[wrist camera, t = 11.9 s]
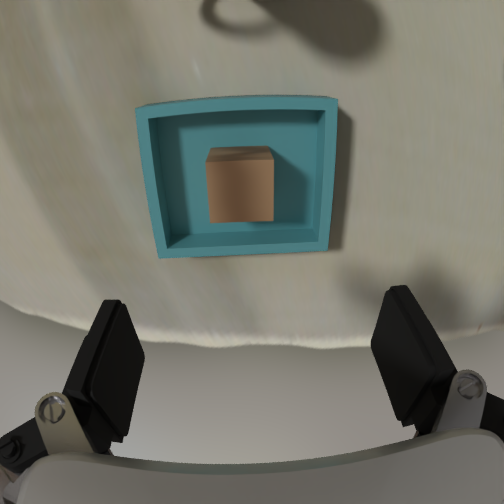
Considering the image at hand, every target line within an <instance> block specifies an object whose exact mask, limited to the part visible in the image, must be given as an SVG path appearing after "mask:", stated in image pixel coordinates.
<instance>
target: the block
mask: <svg viewBox="0 0 504 504" xmlns="http://www.w3.org/2000/svg"><path fill="white" fill-rule="evenodd" d="M205 165H206V179H207V191H208V204H209V215H210V223H229V222H255V221H273V214H274V159H273V157H272V154H271V152H270V150H269V147H268V146H235V147H215V148H210V151H209V154H208V156H207V159H206V162H205Z"/></svg>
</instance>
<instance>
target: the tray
mask: <svg viewBox="0 0 504 504" xmlns="http://www.w3.org/2000/svg"><path fill="white" fill-rule="evenodd" d="M337 111H338V99H335V98H331V97H327V96H310V95H244V96H224V97H209V98H197V99H187V100H178V101H169V102H161V103H154V104H147V105H144V106H141V107H138V108H135V113H136V122H137V131H138V139H139V147H140V155H141V162H142V169H143V175H144V182H145V188H146V194H147V200H148V206H149V212H150V217H151V222H152V228H153V233H154V238H155V243H156V248H157V253H158V257H159V258H181V257H203V256H224V255H246V254H267V253H288V252H309V251H328V242H329V233H330V222H331V212H332V200H333V187H334V173H335V157H336V138H337ZM235 146H268V147H269V150H270V152H271V154H272V157H273V159H274V214H273V221H255V222H229V223H210V215H209V204H208V191H207V179H206V165H205V162H206V159H207V156H208V154H209V151H210V148H215V147H235Z"/></svg>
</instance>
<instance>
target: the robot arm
mask: <svg viewBox="0 0 504 504" xmlns="http://www.w3.org/2000/svg"><path fill="white" fill-rule="evenodd" d="M371 349H372V352H373V355H374V357H375V360H376V362H377V365H378V368H379V371H380V373H381V376H382V379H383V382H384V384H385V387H386V390H387V393H388V396H389V398H390V401H391V404H392V407H393V410H394V413H395V416H396V418H397V420H399V421H401V423H402V425H403V427H405V426H409V425H413V424H414V425H415V428H416V430H417V431H416V433H415V435H414V437H413V439H409V440H405V441H401V442H398V443H393V444H389V445H384V446H380V447H376V448H371V449H367V450H362V451H357V452H352V453H346V454H341V455H334V456H328V457H321V458H314V459H306V460H296V461H287V462H273V463H256V464H192V463H174V462H163V461H152V460H142V459H134V458H126V457H118V456H114V455H113V454H112V452H111V450H110V446H111V442H119V443H122V442H123V437H124V436H127V434H128V431H129V427H130V422H131V417H132V412H133V408H134V403H135V398H136V395H137V390H138V385H139V381H140V377H141V373H142V369H143V365H144V359H145V356H144V352H143V349H142V346H141V344H140V341H139V339H138V336H137V334H136V331H135V329H134V326H133V323H132V321H131V318H130V315H129V313H128V310H127V307H126V305H125V304H122V303H121V301H120V300H104V301H103V303H102V305H101V307H100V309H99V311H98V313H97V315H96V317H95V320H94V322H93V324H92V326H91V328H90V331H89V333H88V335H87V336H86V337H85V338H84V340H83V343H82V345H81V347H80V350H79V352H78V354H77V357H76V359H75V362H74V364H73V366H72V369H71V371H70V374H69V376H68V379H67V381H66V384H65V387H64V389H63V392H62V394H61V393H58V392H52V393H49V394H46V395H45V396H43V397H42V398H41V399H40V400H39V401H38V403H37V405H36V407H35V417H34V418H33V419H31V420H29V421H27V422H26V423H24V424H22V425H21V426H19V427H17V428H16V429H14V430H12V431H10V432H9V433H7V434H5V435H4V436H3V437H1V438H0V504H504V400H503V399H501V398H499V397H497V396H494V395H492V394H490V393H488V392H487V386H486V383H485V381H484V379H483V378H482V376H480V375H479V374H478V373H476V372H475V371H472V370H462V371H459V372H458V371H457V370H456V368H455V366H454V364H453V362H452V360H451V358H450V357H449V355H448V353H447V351H446V349H445V347H444V346H443V344H442V342H441V340H440V338H439V337H438V335H437V333H436V331H435V330H434V328H433V326H432V325H431V323H430V321H429V320H428V319H427V317H426V315H425V314H424V312H423V310H422V309H421V307H420V305H419V304H418V302H417V301H416V299H415V297H414V296H413V294H412V293H411V291H410V290H409V288H408V287H407V286H406V285H399V286H391V287H390V289H389V290H388V291H386V293H385V296H384V299H383V303H382V306H381V310H380V313H379V317H378V320H377V323H376V327H375V330H374V333H373V336H372V339H371Z"/></svg>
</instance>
